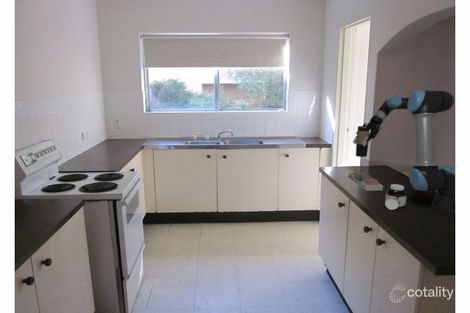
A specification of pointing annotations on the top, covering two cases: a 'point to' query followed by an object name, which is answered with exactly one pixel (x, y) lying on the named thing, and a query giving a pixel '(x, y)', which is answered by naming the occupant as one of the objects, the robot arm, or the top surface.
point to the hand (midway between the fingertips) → (358, 143)
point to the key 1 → (357, 174)
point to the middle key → (364, 176)
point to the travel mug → (361, 136)
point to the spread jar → (395, 197)
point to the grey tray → (364, 185)
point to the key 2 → (371, 181)
